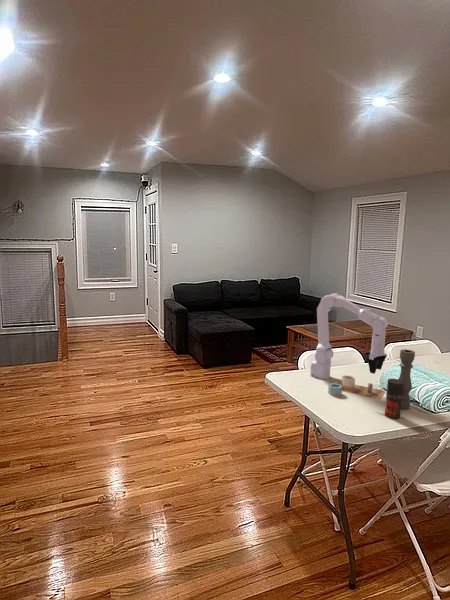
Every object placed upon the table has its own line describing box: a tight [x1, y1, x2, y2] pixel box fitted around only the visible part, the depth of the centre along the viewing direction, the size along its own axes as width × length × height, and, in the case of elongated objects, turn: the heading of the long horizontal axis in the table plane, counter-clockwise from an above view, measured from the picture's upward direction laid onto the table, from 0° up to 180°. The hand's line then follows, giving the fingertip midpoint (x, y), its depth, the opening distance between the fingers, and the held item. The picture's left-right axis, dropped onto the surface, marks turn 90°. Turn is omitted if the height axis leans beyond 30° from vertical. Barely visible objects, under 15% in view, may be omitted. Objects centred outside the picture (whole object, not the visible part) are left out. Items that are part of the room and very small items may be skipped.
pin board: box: [336, 381, 386, 400], centre depth 192 cm, size 22×12×5 cm, turn 59°
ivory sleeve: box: [341, 375, 356, 390], centre depth 194 cm, size 6×6×5 cm
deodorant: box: [384, 378, 404, 420], centre depth 167 cm, size 6×6×15 cm
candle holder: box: [397, 349, 416, 411], centre depth 175 cm, size 6×6×25 cm
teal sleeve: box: [327, 383, 343, 397], centre depth 187 cm, size 6×6×5 cm
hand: (375, 371), depth 192 cm, fingers open, 7 cm apart
